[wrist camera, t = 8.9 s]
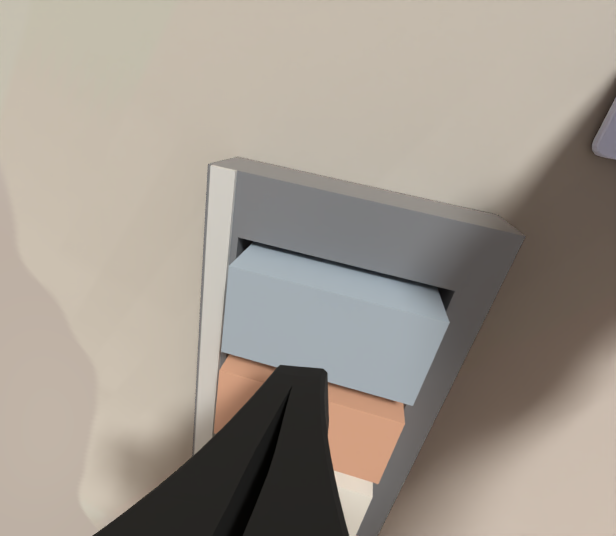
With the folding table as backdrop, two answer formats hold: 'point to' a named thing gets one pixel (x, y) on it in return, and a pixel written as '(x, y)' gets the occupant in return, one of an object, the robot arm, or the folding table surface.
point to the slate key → (333, 320)
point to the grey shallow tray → (361, 253)
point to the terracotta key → (342, 418)
